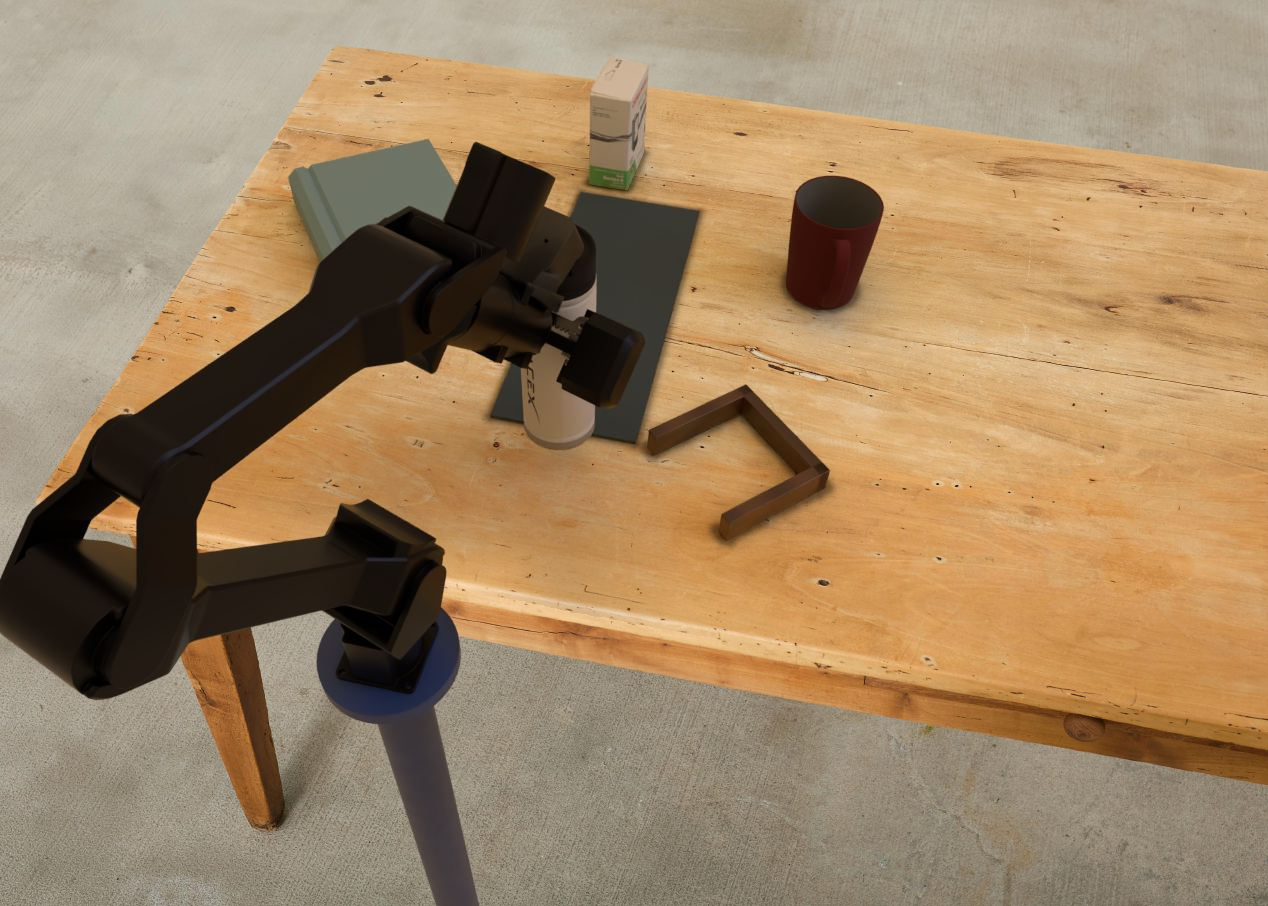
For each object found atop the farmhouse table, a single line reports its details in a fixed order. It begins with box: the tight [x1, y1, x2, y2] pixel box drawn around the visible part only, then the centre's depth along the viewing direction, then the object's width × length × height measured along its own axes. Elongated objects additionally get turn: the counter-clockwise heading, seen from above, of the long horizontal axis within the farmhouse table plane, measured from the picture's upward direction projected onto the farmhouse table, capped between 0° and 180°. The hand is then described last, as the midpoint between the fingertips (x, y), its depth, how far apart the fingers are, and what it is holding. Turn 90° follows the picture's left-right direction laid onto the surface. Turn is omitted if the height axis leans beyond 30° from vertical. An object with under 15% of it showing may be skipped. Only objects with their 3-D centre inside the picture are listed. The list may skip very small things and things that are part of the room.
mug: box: [785, 175, 885, 310], centre depth 108 cm, size 12×9×11 cm
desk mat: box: [489, 191, 700, 445], centre depth 110 cm, size 36×14×1 cm, turn 168°
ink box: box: [588, 57, 650, 191], centre depth 121 cm, size 9×5×12 cm, turn 166°
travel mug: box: [521, 224, 597, 451], centre depth 87 cm, size 6×7×20 cm
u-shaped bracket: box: [646, 384, 831, 541], centre depth 96 cm, size 11×12×2 cm
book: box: [287, 138, 457, 263], centre depth 113 cm, size 23×16×5 cm
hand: (566, 336), depth 88 cm, fingers closed on travel mug, 6 cm apart
